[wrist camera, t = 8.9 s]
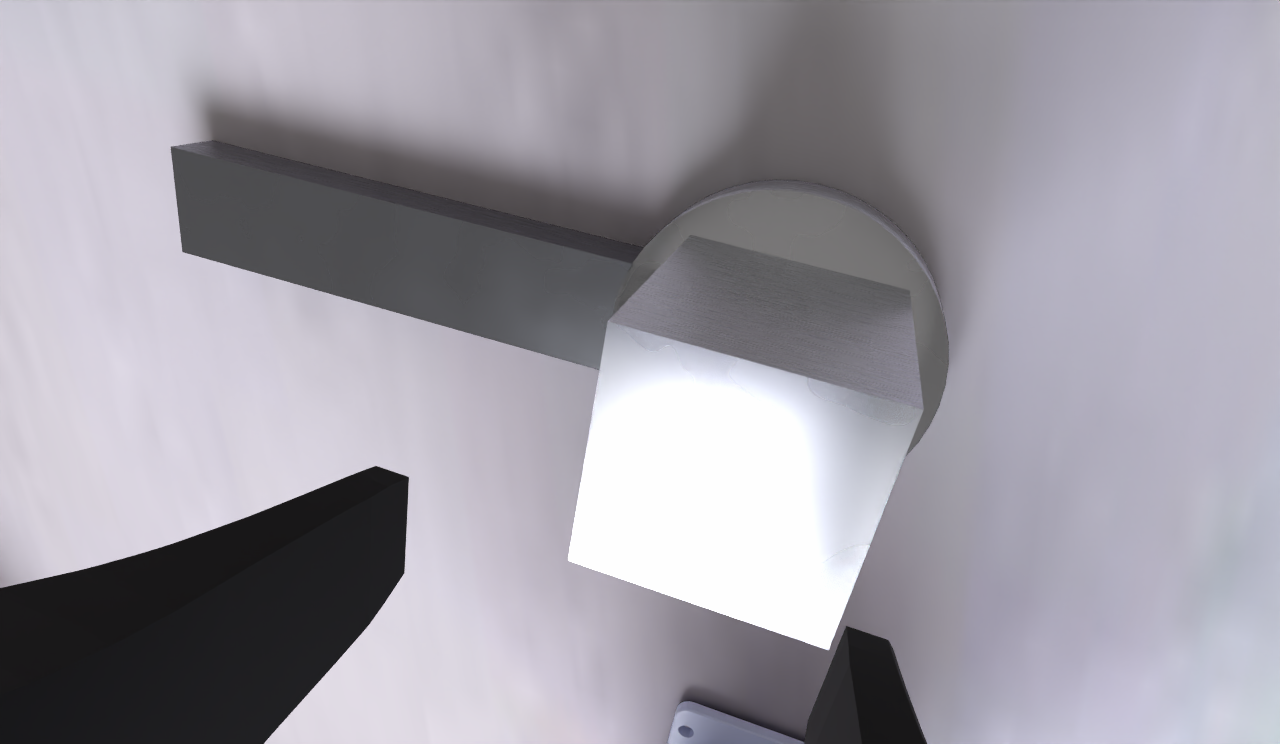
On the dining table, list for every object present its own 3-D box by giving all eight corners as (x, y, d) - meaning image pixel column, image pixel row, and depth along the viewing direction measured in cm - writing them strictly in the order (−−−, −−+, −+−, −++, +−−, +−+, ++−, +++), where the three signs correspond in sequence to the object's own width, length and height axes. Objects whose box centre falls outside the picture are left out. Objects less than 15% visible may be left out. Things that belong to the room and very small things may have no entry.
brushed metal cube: (842, 477, 19) (828, 650, 13) (651, 419, 20) (567, 560, 14) (909, 290, 16) (923, 409, 11) (690, 234, 17) (607, 321, 12)
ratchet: (885, 509, 20) (887, 639, 16) (228, 314, 24) (84, 375, 20) (994, 223, 17) (1035, 287, 12) (205, 47, 21) (23, 49, 16)
